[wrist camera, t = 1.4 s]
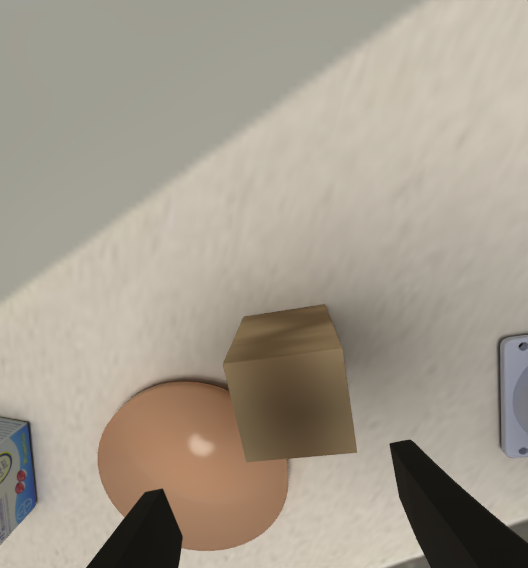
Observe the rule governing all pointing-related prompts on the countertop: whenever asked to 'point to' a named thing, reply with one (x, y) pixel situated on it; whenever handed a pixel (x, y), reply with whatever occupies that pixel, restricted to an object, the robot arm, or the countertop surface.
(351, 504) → the countertop surface
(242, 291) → the countertop surface
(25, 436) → the medicine box
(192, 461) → the peach round disc
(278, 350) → the oak block
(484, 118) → the countertop surface
